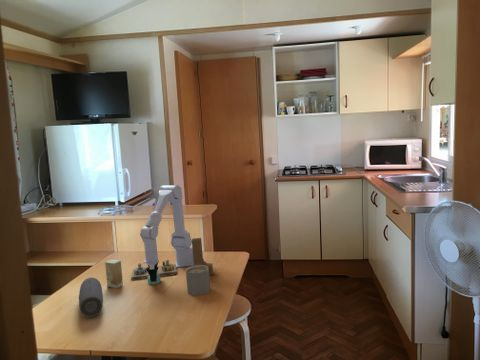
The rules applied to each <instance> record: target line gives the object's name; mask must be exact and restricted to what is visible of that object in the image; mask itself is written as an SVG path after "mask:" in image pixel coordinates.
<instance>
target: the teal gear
mask: <svg viewBox="0 0 480 360" xmlns="http://www.w3.org/2000/svg"><path fill="white" fill-rule="evenodd" d="M146 279H147V284H149V285H156V284H157V285H158V284H159V283H160V282H161V276H160V275H159V274H157V276H156V281H155V282H151V279H150V276H148V277H147V278H146Z"/></svg>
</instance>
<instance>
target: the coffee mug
mask: <svg viewBox="0 0 480 360" xmlns="http://www.w3.org/2000/svg"><path fill="white" fill-rule="evenodd" d="M185 277H186V287H187V294H188V295H191V296H202V295H205V294H208V293H209V292H210V291H211V283H210V282H211V281H210V275H209V269H208V267H207V266H205V265H195V266H194V265H191V266H187V268H186V269H185Z"/></svg>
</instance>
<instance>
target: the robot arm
mask: <svg viewBox="0 0 480 360" xmlns="http://www.w3.org/2000/svg"><path fill="white" fill-rule="evenodd" d="M182 190H183V189H182V187H181V186H179V184H178V185H177V184H175V185H174V184H173V185H171V184H170V185H169V184H168V185H167V184H166V185H165V184H164V185H163V184H162V185H160V187H159V191H158V199H157V203H156V205H155V208H154V211H152V212H151V213H150V214H149V216H148V220H147V221H146V223H145V225H144V226H143V227H141V228H140V233H139V236H140V238H141V239H142V240H141V241H142V242H143V246H144V247H143V248H144V258H145V260H143V262H142V263H143V264H146V266H147V267H146V266H145V268H146V270H147V272H148V273H149V276H150V279H151V282H155V281H156V276H157V270H158V264H159V263H160V262H159V261H160V259H159V254H158V245H157V238H158V235H159V226H160V224H161V221H162V219H163V216H162V213H163V211H164V209H165V207H167V206H166V205H167V203H168V202H171V207H172V208H171V209H172V216H173V225H174V227H173V228H174V231H173V232H172V233H171V239H170V244H171V246H172V247H173V249H174V250H175V264H176V268H182V267H191V266H194V262H193V250H192V239H193V238H192V237H191V233H190V232H189V231H188V230H186V227H185V218H184V217H185V216H184V208H183V191H182Z"/></svg>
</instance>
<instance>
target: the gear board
mask: <svg viewBox="0 0 480 360" xmlns="http://www.w3.org/2000/svg"><path fill="white" fill-rule="evenodd" d="M157 267H158V270H157V274H159V275H160V277H167V276H174V275H178V271H177V267H176V263H175V264H174V263H173V262H170V261H169V259H165V261H162V265H161V266H158V265H157ZM148 276H149V273H148V272H147V270H146V266H142V263H137V267H135V268H133V269H132V271H131V276H130V280H131V281H137V280H143V279H144V280H145V279H147V277H148Z"/></svg>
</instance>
